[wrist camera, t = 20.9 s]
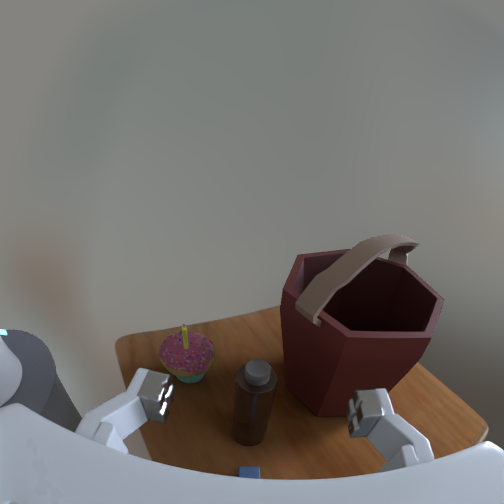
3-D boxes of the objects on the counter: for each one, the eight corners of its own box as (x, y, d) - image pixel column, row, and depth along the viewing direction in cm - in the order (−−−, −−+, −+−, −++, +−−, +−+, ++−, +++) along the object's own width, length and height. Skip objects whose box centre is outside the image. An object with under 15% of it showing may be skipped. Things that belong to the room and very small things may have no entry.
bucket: (356, 326, 55) (387, 211, 44) (424, 396, 36) (493, 268, 26) (246, 355, 46) (257, 214, 36) (304, 462, 28) (374, 315, 17)
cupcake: (220, 388, 39) (219, 331, 34) (165, 395, 37) (152, 338, 32) (209, 351, 46) (208, 294, 42) (161, 356, 44) (151, 299, 39)
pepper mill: (242, 450, 29) (250, 389, 24) (226, 427, 33) (228, 360, 27) (271, 437, 31) (288, 373, 26) (254, 416, 35) (264, 348, 29)
